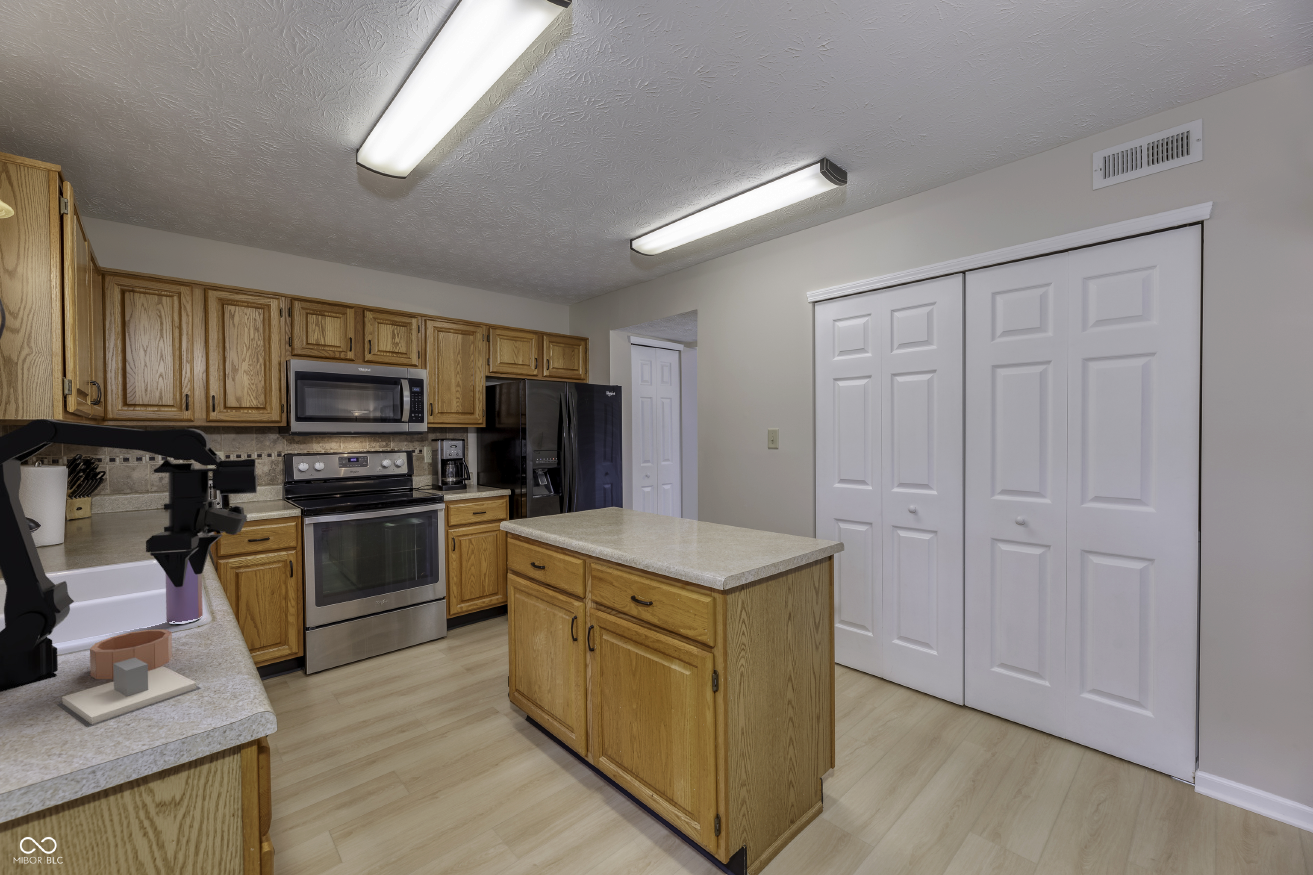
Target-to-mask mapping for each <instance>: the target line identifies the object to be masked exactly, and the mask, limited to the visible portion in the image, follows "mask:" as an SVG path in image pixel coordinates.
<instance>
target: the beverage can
mask: <svg viewBox="0 0 1313 875" xmlns="http://www.w3.org/2000/svg"><path fill="white" fill-rule="evenodd" d="M165 606H166V607H165V611H166V614H165V615H166V617H165V618H166V619H165V620H166V622H167V623H166V624H168V622H172V621H175V622H182V621H188V620H193V619H198V618H200V617H201V616H202V617H203V614H204V612H203V573H202V574H195V573H194V571H193V569H192V567H191V565H190V562H189V560H188V564H187V570H186V576H185V581H184V585H183V586H182V587H175V586H174V585H173V583H172V582H171V580H170V579H169V577H168V576H167V574H166V573H165ZM202 617H201V618H202ZM201 618H200V619H201ZM175 622H173V623H175Z"/></svg>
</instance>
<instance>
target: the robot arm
mask: <svg viewBox="0 0 1313 875" xmlns="http://www.w3.org/2000/svg"><path fill="white" fill-rule="evenodd" d="M52 444H61V445H62V444H63V445H73V446H74V445H75V446H86V447H87V446H88V447H97V448H111V449H121V450H133V451H141V452H146V453H149V454H153V455H157V456H161V457H165V458H168V459H164V460H163V462H162V463H161V464H160V465H159V466H158V467H156V468H155V469H153V473H155V474H168V476H167V477H168V483H167V484H168V485H167V486H168V487H167V488H168V502H167V503H163V510H166V511H168V524H167V525H166V526H163V531H161V532H157V533H155V534H152V536H150V537H149V538H148V539H147V540H146V541H145V553H149V554H150V556H151V557H153V559H155V560H156V562H157V564H158V565H159V566H160V567H161V568H162V570H163V571H164V573H165V575H166V574H167V576H168V577H169V579H170V580H171V582H172V583H173V585H174V586H175V587H182V586H183V585H184V581H185V576H186V570H187V564H188V560H189V562H190V565H191V567H192V569H193V571H194V573H195V574H202V575H203V573H204V569H205V566H206V563H207V560H208V558H209V554H210V552H211V551H210V550H211V547H212V545H213V544H214V543H215V542H216V541H217V540H219V539H220V538H221V537H223V533H225V534H226V535H230V536H232V535H233V536H234V535H237V534H238V533H241V531H242V529H243V527H244V525H245V523H246V522H248V519H247V517H248V514H245V510H244V507H243V506H240V505H233V506H231V507H230V508H229V509H225V508H222V509H221V508H217V507H215V505H216V504H215V501H214V500H213V499H210V486H209V485H210V482H209V481H210V479H209V478H210V472H212V474H211V475H212V476H211V478H212V479H211V480H212V481H211V485H212V490H213V491H214V490H215V491H216V492H218V491H219V495H221V496H223V495H247V494H257V493H258V473H257V465H256V463H257V461H256V458H244V459H222V458H221V457H220V454H217V452H216V451H215V450H214V449H213V448H212V447H211V439H210V437H209V436H208V435H207V434H206V433H205V432H203V431H202V430H200V429H195V428H175V429H172V428H171V429H170V428H169V429H137V428H136V429H135V428H129V427H128V428H126V427H119V426H118V427H117V426H108V425H107V426H106V425H97V424H96V425H95V424H88V423H76V422H69V421H68V422H67V421H59V420H56V419H52V418H51V419H49V418H40V419H39V418H38V419H32V420H31V421H30V422H28V423H26V424H25V425H23V426H21V427H19V428H17V429H15V430H12V431H10V432H8V433H6V434H4V435H1V436H0V572H1V575H2V578H3V581H4V584H5V587H6V592H5V598H4V605H3V617H4V618H3V619H4V628H3V629H1V630H0V693H1V692H5V691H9V690H13V689H17V688H19V687H23V686H26V685H27V686H28V685H31V684H34V683H35V684H36V683H38V682H42V681H46V680H49V679H51V678H52V679H53V678H56V677H58V675H57V673H56V672H58V670H59V666H58V665H59V664H58V647H56V646H54V644H53V639H51V638H49V636H51V635H52V633H53V631H54V629H55V628H56V627H57V626H58V625H60V624H61V623H62V622H63V621H64V620H65V619H66V618H67V617H68V615H69V614H70V610H71V605H72V604H73V603H75V601H74V599H73V598H71V596H70V595H69V592H68V583H67V581H66V580H64V581H61V582H58V583H56V584H55V583H54V582H53V581H52V580H51V579H50V578H49V577H48V576H47V574H46V572H45V569H44V566H43V565H42V564H43V563H42V561H41V558H40V554H39V552H38V549H37V547H36V546H37V545H36V543H35V540H34V537H33V535H32V531H31V528H30V526H29V523H28V520H27V517H26V514H25V511H24V508H23V506H22V502H21V499H20V495H19V494H20V489H21V488H20V487H21V481H22V471H21V469H22V468H21V463H22V462H24V461H26V460H27V459H29V458H31V457H32V456H33V457H34V456H35V455H36V454H38V453H40V451H43V450H44V449H45V448H47V447H48V446H51V445H52ZM169 458H171V459H175V460H179V461H194V462H195V463H197V464H199V465H202V466H203V467H195V464H194V463H193V462H180V463H179V462H178V463H177V462H175V463H174V462H173V461H171V460H170V459H169ZM204 466H206V467H204ZM207 466H211V467H207ZM212 466H215V467H212ZM215 533H216V534H215Z"/></svg>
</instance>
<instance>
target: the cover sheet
mask: <svg viewBox="0 0 1313 875" xmlns="http://www.w3.org/2000/svg"><path fill="white" fill-rule="evenodd" d="M113 669H114V679H113V681H111V682H107V683H104V684H100V685H97V686H94V687H89V688H87V689H83V690H81V691H76V692H73V693H70V694H67V695H63V696H62V698H61V699H62V702H63V704H64V705H66V706H67V707H68V708H70V709H71V710H73V711H74V712H75V713H77V714H78V715H79V716H81V717H82V718H84V719H85V720H86V721H88V722H89V723H91V724H95V723H98V722H100V721H103V720H106V719H109V718H112V717H115V716H118V715H121V714H124V713H127V712H130V711H133V710H136V709H138V708H141V707H144V706H147V705H150V704H153V703H156V702H159V701H162V700H165V699H168V698H171V697H174V696H177V695H179V694H182V693H185V692H188V691H191V690H194V689H196V686H197V682H196V681H195V680H192V679H190V678H188V677H186V676H184V675H182V674H180V673H179V672H178V673H177V672H176V671H174V670H172V669H170V668H168V667H165V666H164V665H162V666H160V667H158V668H156V669H153V670H150V671H148V664H146V663H144V662H142V661H140V660H138V659H136V658H131V659H128V660H124V661H121V662H117V663H113Z"/></svg>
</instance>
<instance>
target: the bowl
mask: <svg viewBox="0 0 1313 875" xmlns="http://www.w3.org/2000/svg"><path fill="white" fill-rule="evenodd" d="M131 658H136V659H138V660H140V661H142V662H144V663H146V664H148V671H150V670H153V669H157V668H160V667H163V666H164V665H167V664H168V663H170V661H171V660H172V659H173V632H172V631H170V630H169V629H163V628H162V629H160V628H159V629H144V630H137V631H131V632H127V633H122V634H119V635H114V636H111V637H108V638H106V639H102V640H101V641H98V642H95V643H94V644H93V645H92V646H91V647H90V648H89V662H90V663H89V667H90V668H89V669H90V673H89V674H90V677H92V678H94V679H95V680H114V669H113V663H117V662H121V661H124V660H128V659H131Z"/></svg>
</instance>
